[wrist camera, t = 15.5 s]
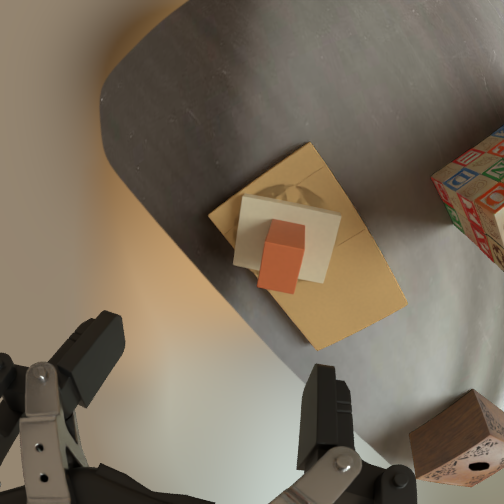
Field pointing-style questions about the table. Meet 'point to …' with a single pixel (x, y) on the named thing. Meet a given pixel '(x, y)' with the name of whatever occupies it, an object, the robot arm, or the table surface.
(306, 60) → the table surface
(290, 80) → the table surface
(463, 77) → the table surface
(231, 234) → the base pad
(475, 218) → the stack of blocks
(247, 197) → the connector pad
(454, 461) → the tissue box cover
